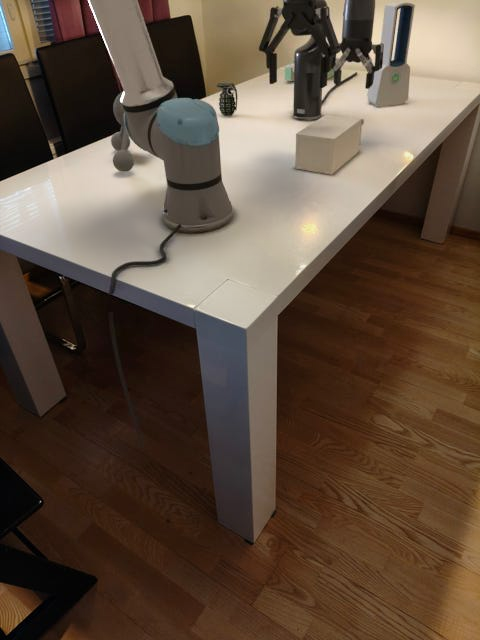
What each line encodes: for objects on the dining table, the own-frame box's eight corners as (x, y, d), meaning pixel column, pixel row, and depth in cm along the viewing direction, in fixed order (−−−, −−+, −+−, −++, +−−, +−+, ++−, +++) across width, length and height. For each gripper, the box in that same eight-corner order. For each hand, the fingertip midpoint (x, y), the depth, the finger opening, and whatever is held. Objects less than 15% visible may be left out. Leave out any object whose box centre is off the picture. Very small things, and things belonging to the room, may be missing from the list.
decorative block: (306, 53, 217) (348, 56, 208) (306, 69, 221) (346, 73, 212) (276, 65, 201) (319, 68, 192) (276, 82, 205) (318, 86, 196)
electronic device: (375, 107, 168) (387, 4, 150) (365, 102, 174) (375, 2, 155) (407, 103, 170) (423, 1, 152) (396, 98, 176) (410, -1, 158)
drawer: (337, 135, 144) (338, 111, 140) (366, 139, 140) (369, 114, 135) (303, 160, 129) (304, 133, 125) (336, 165, 125) (338, 138, 121)
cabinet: (323, 147, 139) (325, 114, 134) (358, 152, 135) (361, 118, 129) (295, 168, 128) (295, 133, 122) (331, 174, 123) (334, 138, 118)
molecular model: (197, 163, 134) (184, 38, 115) (117, 178, 128) (90, 49, 109) (174, 139, 151) (159, 27, 133) (103, 151, 145) (77, 36, 127)
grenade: (217, 117, 168) (214, 86, 162) (221, 112, 172) (219, 82, 166) (235, 117, 166) (233, 86, 160) (239, 113, 171) (238, 82, 165)
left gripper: (359, -22, 105) (350, 84, 118) (258, -20, 116) (260, 78, 129) (347, -19, 100) (339, 92, 113) (242, -17, 111) (246, 84, 124)
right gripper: (391, 14, 120) (383, 85, 130) (337, 14, 127) (333, 81, 137) (381, 19, 115) (373, 92, 125) (325, 18, 122) (322, 88, 132)
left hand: (297, 84), depth 121 cm, fingers open, 13 cm apart
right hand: (352, 86), depth 131 cm, fingers open, 8 cm apart
